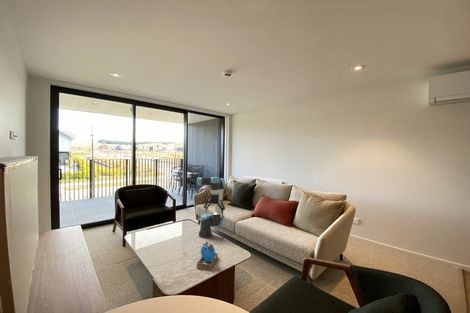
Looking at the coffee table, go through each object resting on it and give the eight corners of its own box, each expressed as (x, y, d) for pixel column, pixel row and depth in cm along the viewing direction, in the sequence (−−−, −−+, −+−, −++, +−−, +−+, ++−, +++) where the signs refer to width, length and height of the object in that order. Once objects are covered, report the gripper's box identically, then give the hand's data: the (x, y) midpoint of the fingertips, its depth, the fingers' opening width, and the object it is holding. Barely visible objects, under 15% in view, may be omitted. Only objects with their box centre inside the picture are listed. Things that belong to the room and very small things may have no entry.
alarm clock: (215, 262, 166) (215, 244, 165) (209, 265, 161) (209, 247, 161) (206, 256, 175) (206, 239, 175) (200, 258, 171) (200, 241, 170)
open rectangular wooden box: (205, 255, 179) (205, 251, 179) (217, 257, 176) (217, 253, 176) (196, 267, 160) (196, 263, 160) (210, 270, 158) (210, 265, 158)
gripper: (200, 193, 181) (200, 216, 182) (226, 195, 176) (226, 219, 177) (203, 192, 188) (203, 213, 189) (228, 193, 183) (228, 216, 184)
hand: (214, 216), depth 183 cm, fingers open, 13 cm apart
